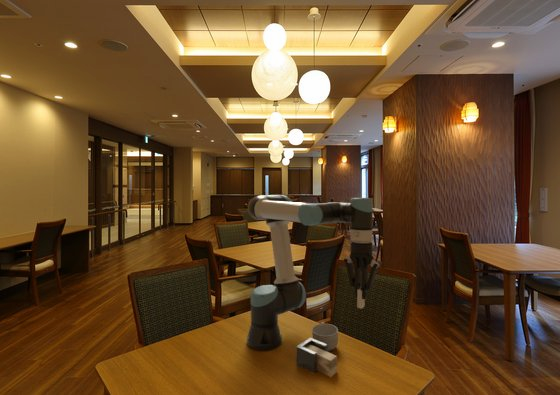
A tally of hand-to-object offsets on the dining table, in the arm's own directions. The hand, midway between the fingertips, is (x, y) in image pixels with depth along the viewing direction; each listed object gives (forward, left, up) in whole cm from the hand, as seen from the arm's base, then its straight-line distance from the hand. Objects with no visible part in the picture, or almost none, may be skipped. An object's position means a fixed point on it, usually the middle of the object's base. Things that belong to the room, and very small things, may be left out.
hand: (361, 306), depth 105 cm
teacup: (-20, +8, -25) cm, 33 cm away
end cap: (-17, -6, -24) cm, 30 cm away
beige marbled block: (-13, -6, -25) cm, 29 cm away
